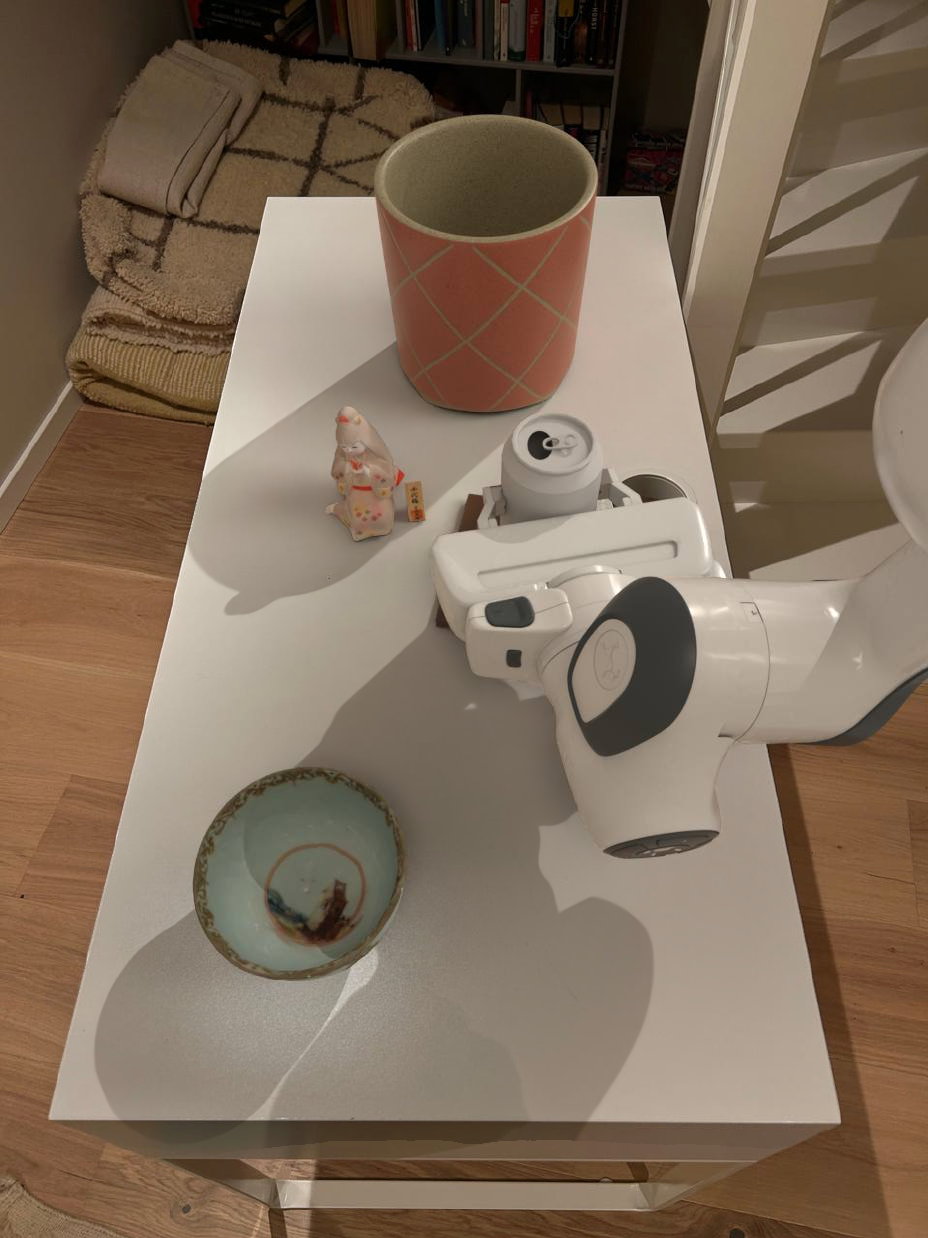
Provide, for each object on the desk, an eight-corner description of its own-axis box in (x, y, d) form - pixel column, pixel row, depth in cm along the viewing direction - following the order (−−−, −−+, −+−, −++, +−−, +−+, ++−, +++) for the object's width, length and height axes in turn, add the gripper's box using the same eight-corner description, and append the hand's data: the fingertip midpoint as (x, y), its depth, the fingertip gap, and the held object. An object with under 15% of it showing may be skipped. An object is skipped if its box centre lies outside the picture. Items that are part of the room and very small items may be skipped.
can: (499, 507, 78) (502, 401, 68) (588, 508, 78) (604, 402, 68) (499, 579, 74) (501, 477, 64) (592, 580, 74) (610, 478, 64)
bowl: (398, 1019, 60) (387, 993, 54) (199, 993, 61) (164, 965, 55) (428, 820, 68) (421, 776, 61) (250, 801, 69) (225, 755, 62)
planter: (394, 302, 100) (374, 118, 83) (569, 294, 100) (585, 108, 83) (393, 429, 90) (371, 247, 73) (589, 420, 90) (612, 236, 73)
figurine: (322, 544, 82) (294, 434, 73) (331, 494, 86) (306, 384, 78) (423, 541, 81) (408, 429, 72) (427, 491, 86) (413, 380, 77)
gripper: (748, 579, 62) (684, 433, 69) (447, 629, 60) (415, 474, 67) (728, 630, 67) (670, 489, 74) (451, 678, 65) (420, 528, 73)
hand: (546, 482), depth 71 cm, fingers closed on can, 7 cm apart
